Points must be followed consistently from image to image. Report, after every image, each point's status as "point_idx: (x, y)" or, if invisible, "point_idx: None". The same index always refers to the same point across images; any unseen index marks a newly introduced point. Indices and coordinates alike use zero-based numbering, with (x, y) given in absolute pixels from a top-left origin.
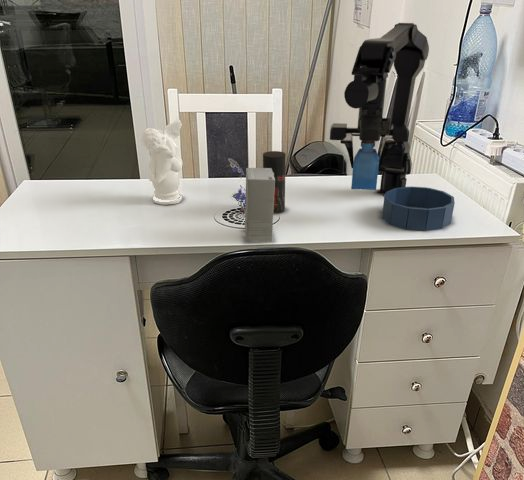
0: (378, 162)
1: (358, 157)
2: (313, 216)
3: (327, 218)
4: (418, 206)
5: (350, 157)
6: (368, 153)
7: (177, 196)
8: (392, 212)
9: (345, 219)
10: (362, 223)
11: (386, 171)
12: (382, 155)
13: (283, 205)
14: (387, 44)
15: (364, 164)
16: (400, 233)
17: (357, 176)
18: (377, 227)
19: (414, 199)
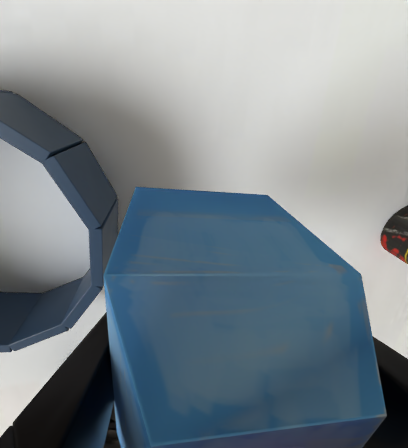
0: (110, 335)
1: (353, 346)
2: (321, 194)
3: (286, 182)
4: (7, 294)
5: (395, 358)
6: (257, 425)
7: None
8: (63, 144)
9: (234, 178)
10: (182, 147)
11: (110, 424)
12: (44, 437)
13: (404, 227)
14: None
15: (260, 274)
16: (30, 43)
17: (268, 222)
18: (129, 110)
19: (12, 310)
